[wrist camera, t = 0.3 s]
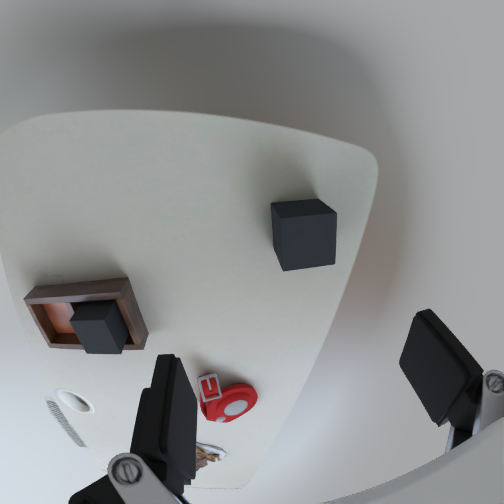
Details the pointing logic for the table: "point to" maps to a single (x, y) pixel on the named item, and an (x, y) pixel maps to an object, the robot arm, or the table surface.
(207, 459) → the frog figurine
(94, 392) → the table surface
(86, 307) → the dark grey cube
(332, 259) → the dark grey block
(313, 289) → the table surface
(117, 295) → the frame
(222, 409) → the tracker holder
